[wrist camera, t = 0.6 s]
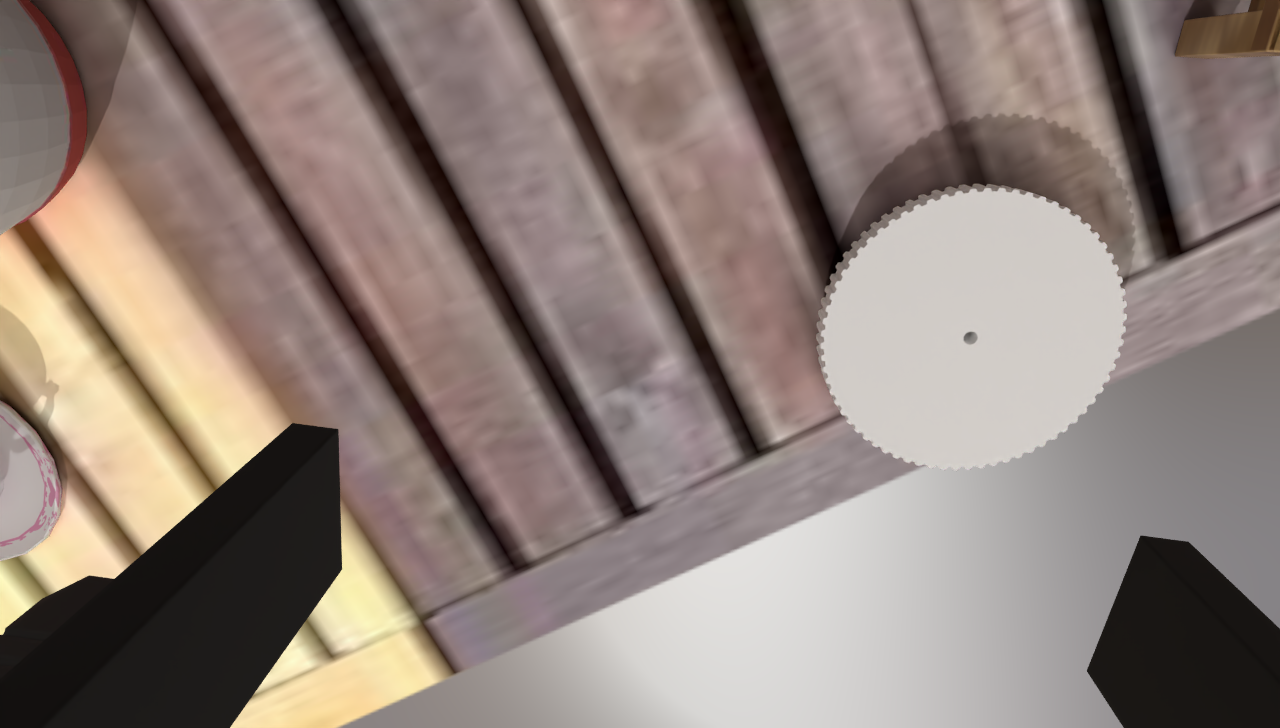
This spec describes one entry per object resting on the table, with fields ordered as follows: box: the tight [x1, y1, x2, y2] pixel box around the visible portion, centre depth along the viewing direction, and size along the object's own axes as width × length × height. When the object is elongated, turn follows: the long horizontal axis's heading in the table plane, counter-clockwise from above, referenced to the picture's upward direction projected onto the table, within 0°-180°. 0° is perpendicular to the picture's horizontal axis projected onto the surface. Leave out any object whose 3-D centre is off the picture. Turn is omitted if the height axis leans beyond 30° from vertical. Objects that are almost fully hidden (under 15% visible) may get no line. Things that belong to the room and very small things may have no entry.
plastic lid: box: [816, 184, 1127, 470], centre depth 38 cm, size 14×14×2 cm
